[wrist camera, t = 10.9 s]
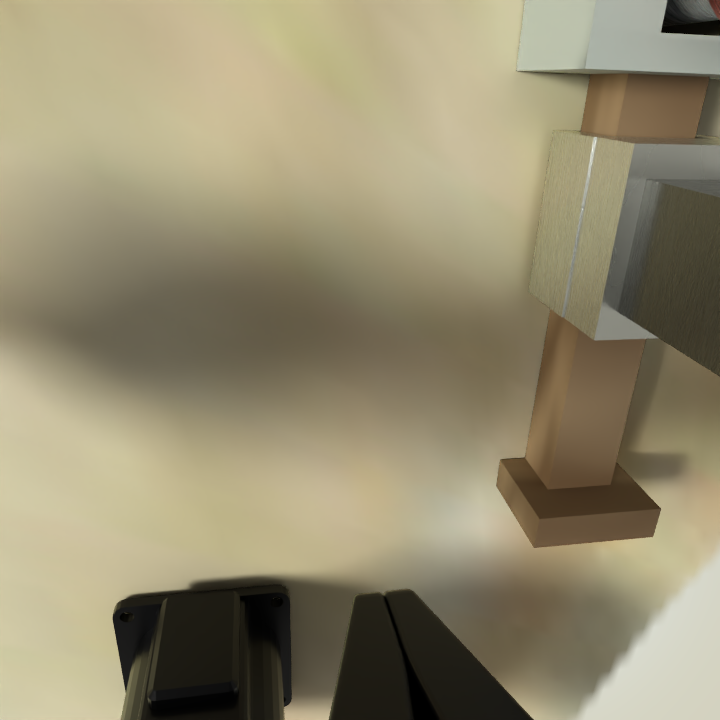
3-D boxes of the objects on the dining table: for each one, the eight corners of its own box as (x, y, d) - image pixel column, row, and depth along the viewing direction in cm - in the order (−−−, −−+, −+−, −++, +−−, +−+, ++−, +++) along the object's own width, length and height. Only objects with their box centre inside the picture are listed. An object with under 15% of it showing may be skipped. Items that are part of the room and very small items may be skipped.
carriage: (652, 289, 21) (870, 402, 14) (528, 291, 20) (688, 413, 13) (689, 133, 19) (971, 167, 12) (552, 130, 18) (760, 165, 11)
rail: (601, 478, 24) (653, 536, 21) (496, 486, 24) (534, 547, 21) (694, 78, 19) (785, 77, 15) (558, 72, 18) (624, 70, 15)
